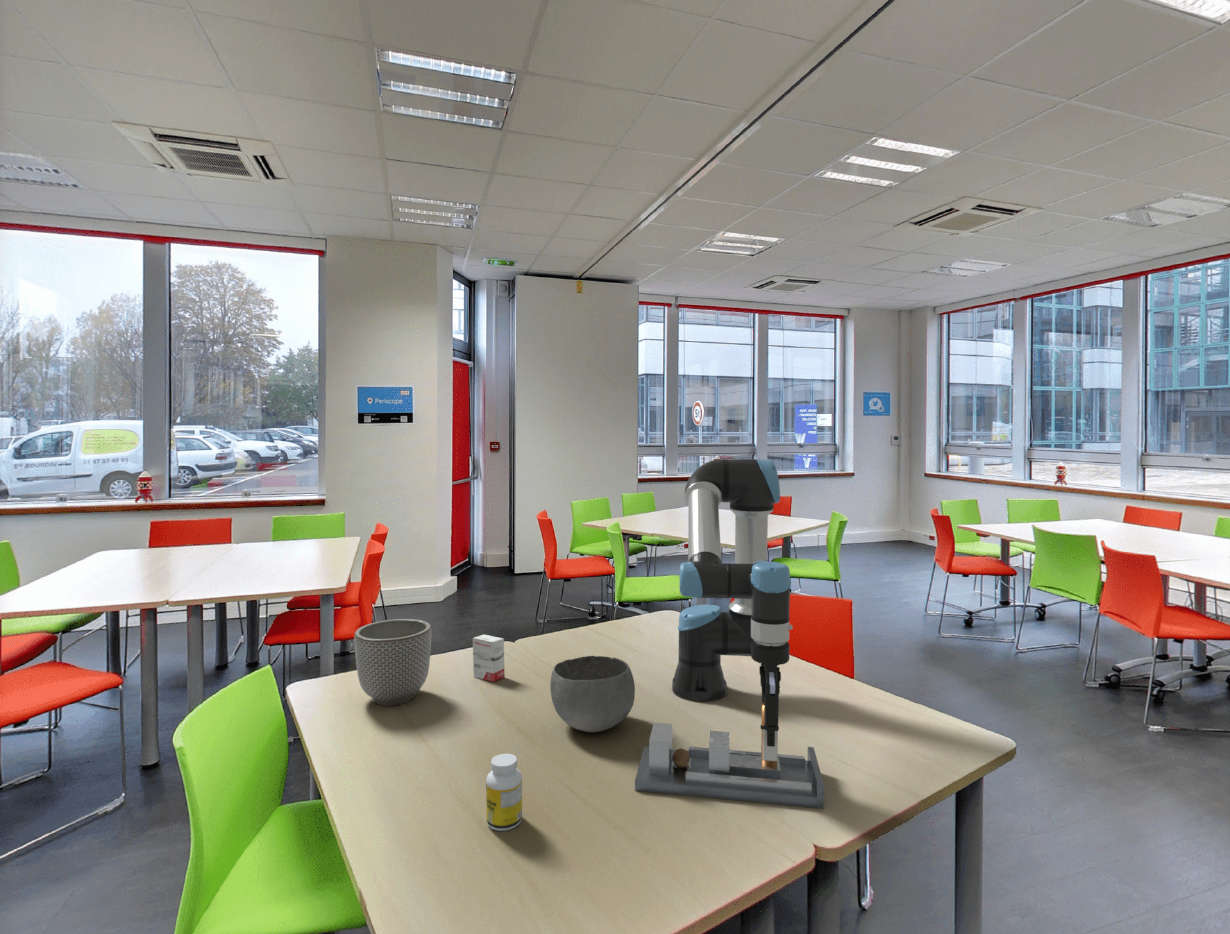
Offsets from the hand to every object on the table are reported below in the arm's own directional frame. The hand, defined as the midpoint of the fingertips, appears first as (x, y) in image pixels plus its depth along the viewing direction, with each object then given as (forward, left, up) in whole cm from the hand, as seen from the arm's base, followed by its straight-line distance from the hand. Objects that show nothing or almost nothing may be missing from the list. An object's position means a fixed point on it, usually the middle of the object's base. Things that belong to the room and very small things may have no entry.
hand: (769, 754), depth 126 cm
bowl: (-44, -11, -6) cm, 45 cm away
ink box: (-89, -15, -6) cm, 90 cm away
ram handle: (-4, -3, -4) cm, 6 cm away
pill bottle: (-24, -47, -6) cm, 53 cm away
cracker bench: (-7, -5, -6) cm, 10 cm away
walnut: (-14, -11, -4) cm, 18 cm away
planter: (-92, -42, -6) cm, 101 cm away
